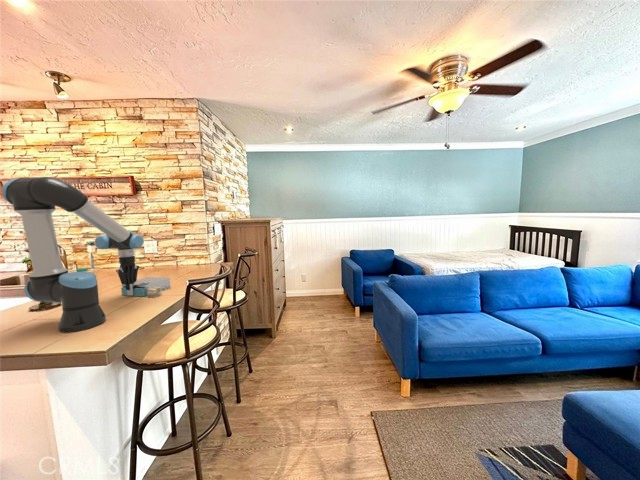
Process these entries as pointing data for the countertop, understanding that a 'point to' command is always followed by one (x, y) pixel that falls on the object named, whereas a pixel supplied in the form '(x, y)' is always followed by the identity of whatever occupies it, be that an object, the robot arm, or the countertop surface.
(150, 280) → the box
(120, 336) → the countertop surface
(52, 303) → the burger
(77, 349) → the countertop surface
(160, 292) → the block
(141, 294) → the tray
